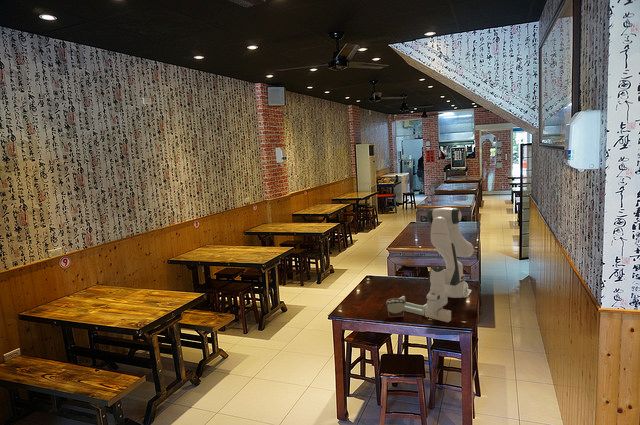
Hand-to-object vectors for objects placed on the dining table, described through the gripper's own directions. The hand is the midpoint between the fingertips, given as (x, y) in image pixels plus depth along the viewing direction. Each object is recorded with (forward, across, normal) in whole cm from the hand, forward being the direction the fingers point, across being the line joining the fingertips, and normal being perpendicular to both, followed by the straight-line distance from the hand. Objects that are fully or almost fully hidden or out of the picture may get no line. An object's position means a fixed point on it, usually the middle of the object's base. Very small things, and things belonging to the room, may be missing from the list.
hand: (437, 315), depth 261 cm
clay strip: (+2, 0, 0) cm, 2 cm away
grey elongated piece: (+2, -4, -19) cm, 20 cm away
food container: (+2, +10, -24) cm, 26 cm away
